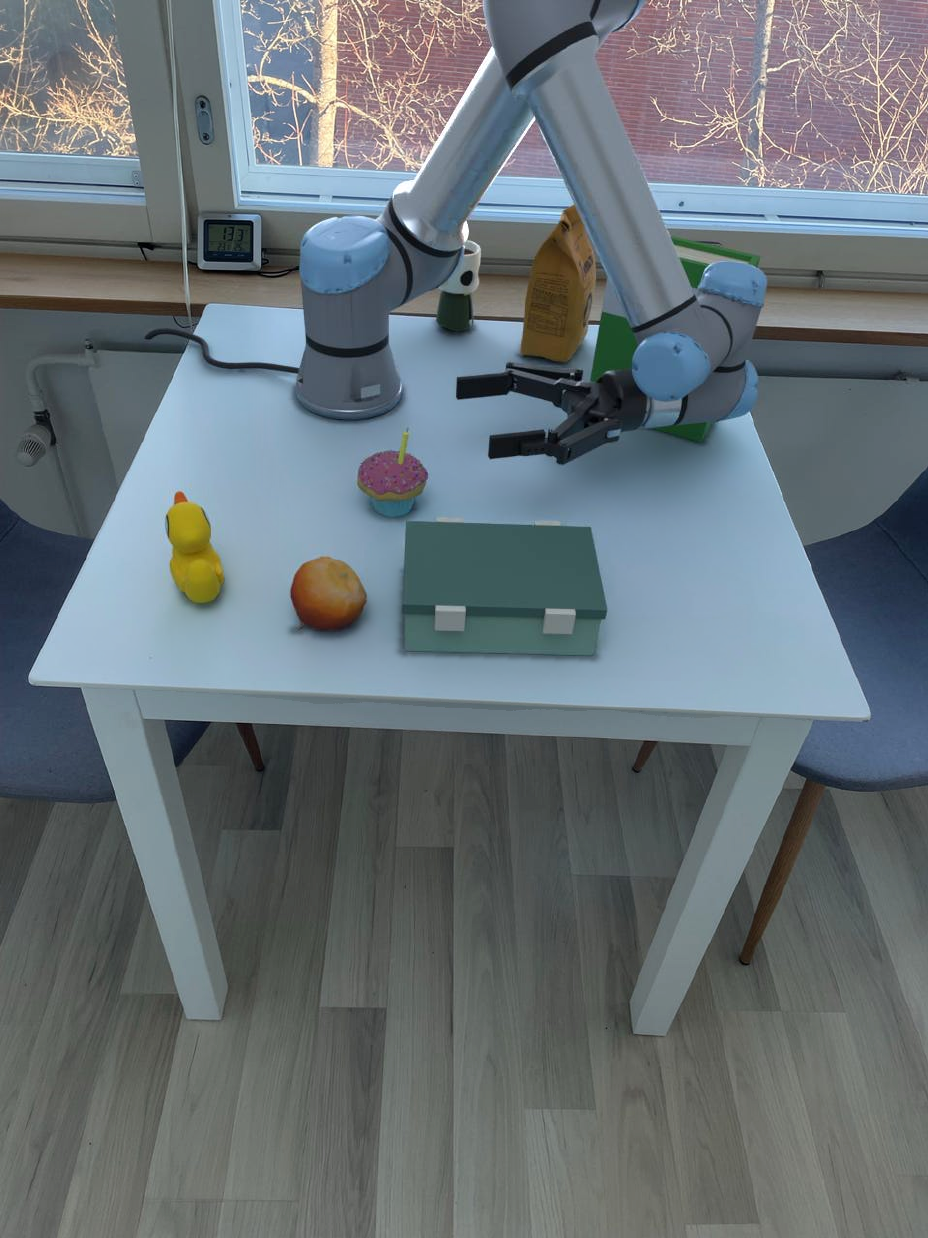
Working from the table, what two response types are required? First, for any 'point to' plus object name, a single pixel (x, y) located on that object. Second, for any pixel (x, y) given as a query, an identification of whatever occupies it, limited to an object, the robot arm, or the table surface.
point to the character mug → (460, 291)
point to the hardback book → (619, 338)
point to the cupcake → (392, 480)
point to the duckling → (193, 551)
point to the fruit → (327, 594)
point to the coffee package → (559, 292)
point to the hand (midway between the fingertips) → (472, 416)
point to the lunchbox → (501, 588)
